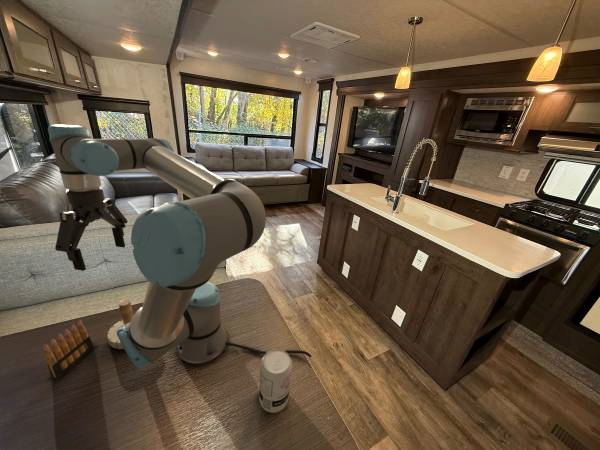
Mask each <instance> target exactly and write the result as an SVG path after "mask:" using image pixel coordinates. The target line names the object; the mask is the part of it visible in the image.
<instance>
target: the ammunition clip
mask: <svg viewBox="0 0 600 450" xmlns="http://www.w3.org/2000/svg"><path fill="white" fill-rule="evenodd" d="M77 327H78V328H77ZM77 327H76V325H75V324H71V327H70V328H71V331H70V330H69V329H67V328H65V330H64V336H65V337H64V336H63V335H62V333H58V335H57V340H58V342H57V341H56V340H55V339H54V338H51V340H50V345H51V348H50V346H49V345H48V344H46V343H45V344H43V351H44V355H45V360H46V363H47V367H48V370H49V373H50V376H51V378H52V379H55V380H58V379H60V378H61V377H62V376H63V375H65V374H66V373H67V372H68V371H69V370H70V369H71V368H73V367H74V366H75V365H77V363H78V362H79V361H80V360H82V359H83V358H84V357H85V356H86V355H87V354H89V353H90V352H91V351H93V350H94V349H95V346H94V344H93V341H92V338H91V336H90V335H89V334H88V331H87V329H86V327H85V325H84V324H83V322H82V320H81V319H78V320H77ZM71 333H72V334H71ZM58 343H59V344H58ZM51 349H52V350H51Z"/></svg>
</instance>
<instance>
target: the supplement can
mask: <svg viewBox="0 0 600 450" xmlns="http://www.w3.org/2000/svg"><path fill="white" fill-rule="evenodd" d="M266 352H267V353H266V354H264V355H263V357H262V358H261V361H260V363H259V365H260V366H259V388H258V389H259V391H258V402H259V404H260V407H261V408H262V409H263V410H264V411H265V412H268V413H273V414H274V413H275V414H276V413H278V412H281V411H282V410H284V409H285V408H286V407H287V405H288V403H289V399H290V390H291V381H292V372H293V361H292V358H291V357H290V355H289V353H286V352H285V351H284V349H281V348H273V349H270V350H268V351H266Z"/></svg>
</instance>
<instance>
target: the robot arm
mask: <svg viewBox="0 0 600 450" xmlns="http://www.w3.org/2000/svg"><path fill="white" fill-rule="evenodd" d="M47 132H48V135H49V142H50V144H51V148H52V150H53V154H54V157H55V160H56V164H57V166H58V169H59V173H60V177H61V181H62V184H63V187H64V189H65V194H66V198H67V201H68V204H69V205H70V206H71V208H72V209H71V211H60V212H59V221H60V223H59V228H58V232H57V237H56V242H55V247H54V250H55V251H57V252H63V253H65V254H66V256H67V259H68V261H69V262H72V265H73V268H74V269H73V270H76V271H82V272H84V271H86V270H87V266H86V264H85V261H84V257H83V254H82V251H81V248H79V247H78V245H79V244H80V242H81V239H82V236H83V234H84V233H85V230H86V228H87V227H88V226H89V225H90V223H93V222H95V221H99V220H101V219H102V220H103V221H105V222H107V223H108V224H110V225H111V226H113V227H111V231H112V236H113V241H114V244H115V245H114V246H115V247H117V248H123V249H124V248H125V247H126V244H125V238H124V236H125V232H124V229H125V228H126V224H128V219H127V218H126V217H125V216H124V214H123V213H122V212H121V210H120V209H119V208H118V206H117V205H116V203H115V200H114V199H113V198H107V197H105V193H104V190H103V189H104V188H103V187H102V181H101V180H102V179H101V177H107V176H109V175H111V174H113V173H114V172H118V171H119V172H120V171H130V170H140V169H141V170H142V169H145V170H147V171H148V172H150V173H152V174H153V175H155V176H156V177H158V178H159V179H160V180H162V181H164V182H165V183H167V184H169V185H170V186H171V187H173V188H174V189H176V190H177V191H179V192H180V193H182V194H183V195H184V196H186V197H188V198H189V199H185V200H181V201H168V202H164V203H162V204H160V205H159V206H155V207H151V208H148V209H146V210H144V211H143V212H141V213H140V214H139V215H138V216H137V217H136V219H135V221H134V223H133V225H132V228H131V234H130V243H131V245H132V248H133V249H132V255H133V258H134V261H135V263H136V265H137V268H138V269H139V271H140V273H141V274H142V275H143V276H144V278H145V279H146V280H147V281H148V285H147V289H146V292H145V296H144V299H143V304H142V306H141V307H139V308H138V309H137V311H135V313H133V315H134V316H133V318H132V320H131V322H129V323H126V324H124V325H123V326H122V327H120V328H119V329H118V330H117V336H118V338H119V340H120V342H121V344H122V346H123V348H124V349H123V350H124V351H125V353H126V354H127V356H128V358H129V359H130V361H131V362H132V364H133V365H134V367H136V369H139V370H141V369H144V368H146V367H148V366H149V365H152V364H153V363H154V362H155V361H157V360H159V359H160V358H161V357H162V356H164V355H165V354H167V353H169V352H170V351H171V350H172V349H175V347H177V353H178V357H179V359H180V360H181V361H182V362H183V363H184V364H186V365H190V366H203V365H206V364H209V363H211V362H213V361H215V360H216V359H218V358H219V357H220V356H221V355H222V354H223V353H224V352H225V350H226V349H227V346H231V347H235V348H239V349H243V350H247V351H249V352H252V353H253V352H254V353H256V354H259V355H265V354H266V353H267V352H268V351H266V350H265V351H264V350H261V349H256V348H253V347H250V346H248V345H247V346H246V345H244V344H243V345H242V344H239V343H234V342H231V341H228V334H227V330H226V329H225V327H224V326H223V323H222V320H221V319H222V317H221V296H220V290H219V287H217V286H216V285H215V284H214V283H212V282H209V281H210V279H211V278H212V277H213V276H214V273H215V272H216V270H217V268H218V267H219V265H220V264H222V262H224V261H226V260H228V259H231V258H232V257H234V256H236V255H238V254H240V253H242V252H245V251H247V250H249V249H251V248H252V247H254V245H256V244H257V243H258V241H259V240H260V239H261V237H262V236H263V233H264V232H265V228H266V225H267V224H266V223H267V215H266V209H265V206H264V204H263V202H262V200H261V198H260V197H259V196H258V195H257V194H256V193H255V192H254V191H253V190H252V189H251V188H249V187H248V186H246V185H245V184H242V183H241V182H239V181H237V180H235V179H233V178H225V179H224V178H222V177H221V176H218V175H216V174H215V173H214V172H212V171H209V170H208V169H205V167H202V166H200V165H198V164H197V163H194V162H193V161H191V160H189V159H188V158H186V157H183V156H182V155H180V154H178V153H176V152H175V150H174V148H173V145H171V143H170V141H168V140H167V139H164V138H156V137H150V138H149V137H148V138H92V136H91V134H90V131H89V129H88V128H87V127H86V126H83V125H74V124H52V125H49V126H48V128H47ZM105 208H106V209H107V211H108V212H107V211H106V210H105ZM283 350H284V349H283ZM284 351H285V352H286V353H288V354H302V355H306V356H307V357H308V358H312V356H313V355H311V353H309V352H308V351H306V350H302V349H286V350H284Z"/></svg>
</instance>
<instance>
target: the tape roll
mask: <svg viewBox="0 0 600 450" xmlns="http://www.w3.org/2000/svg"><path fill="white" fill-rule="evenodd" d="M123 325H124V323H123V319H121V320H119V321H117V322H116V323H114V324H113V325H112V326H111V327H110V328H109V330H108V332H107V340H108V342H109V343H108V345H109V344H110V345H109V346H110V347H112V348H114V349H116V350H117V349H118V350H125V349H124V348H123V346H122V344H121V342H120V340H119V338H118V336H117V330H118V329H119V328H120V327H122V326H123Z"/></svg>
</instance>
